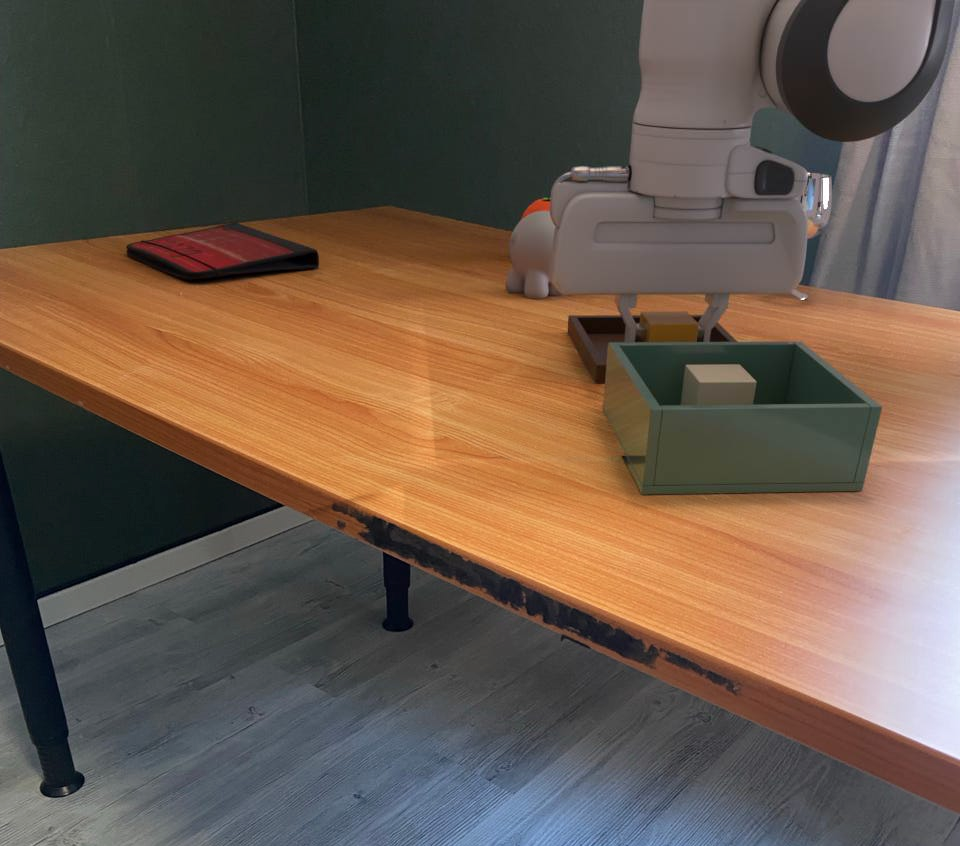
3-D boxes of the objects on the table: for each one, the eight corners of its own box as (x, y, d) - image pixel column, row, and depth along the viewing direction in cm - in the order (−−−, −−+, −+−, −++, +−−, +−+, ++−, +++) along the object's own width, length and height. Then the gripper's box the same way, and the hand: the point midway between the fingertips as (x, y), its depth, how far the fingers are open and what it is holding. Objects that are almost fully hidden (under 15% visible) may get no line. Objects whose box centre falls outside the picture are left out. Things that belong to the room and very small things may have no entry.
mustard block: (681, 358, 86) (687, 311, 84) (692, 372, 83) (699, 323, 80) (635, 358, 86) (640, 311, 84) (645, 372, 82) (650, 323, 80)
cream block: (731, 417, 73) (740, 363, 71) (747, 437, 70) (757, 381, 68) (678, 418, 73) (685, 364, 71) (692, 437, 70) (699, 381, 68)
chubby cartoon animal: (623, 295, 108) (631, 211, 103) (529, 307, 103) (533, 219, 98) (586, 281, 113) (591, 201, 108) (495, 292, 108) (496, 208, 103)
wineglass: (781, 286, 112) (800, 170, 106) (824, 296, 108) (848, 176, 102) (749, 294, 109) (767, 174, 102) (793, 304, 105) (815, 181, 99)
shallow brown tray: (707, 337, 94) (710, 314, 93) (757, 389, 81) (761, 363, 80) (567, 338, 93) (568, 315, 92) (594, 390, 80) (596, 364, 79)
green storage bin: (787, 414, 76) (801, 341, 73) (862, 491, 64) (882, 406, 61) (601, 416, 75) (607, 342, 72) (641, 494, 63) (651, 409, 60)
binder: (237, 220, 129) (319, 247, 115) (240, 239, 131) (321, 268, 117) (118, 238, 121) (190, 270, 107) (122, 258, 123) (194, 292, 109)
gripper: (557, 171, 73) (548, 359, 80) (829, 172, 74) (795, 357, 81) (546, 160, 78) (538, 337, 85) (800, 162, 79) (771, 336, 87)
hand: (666, 347), depth 83 cm, fingers closed on mustard block, 4 cm apart
